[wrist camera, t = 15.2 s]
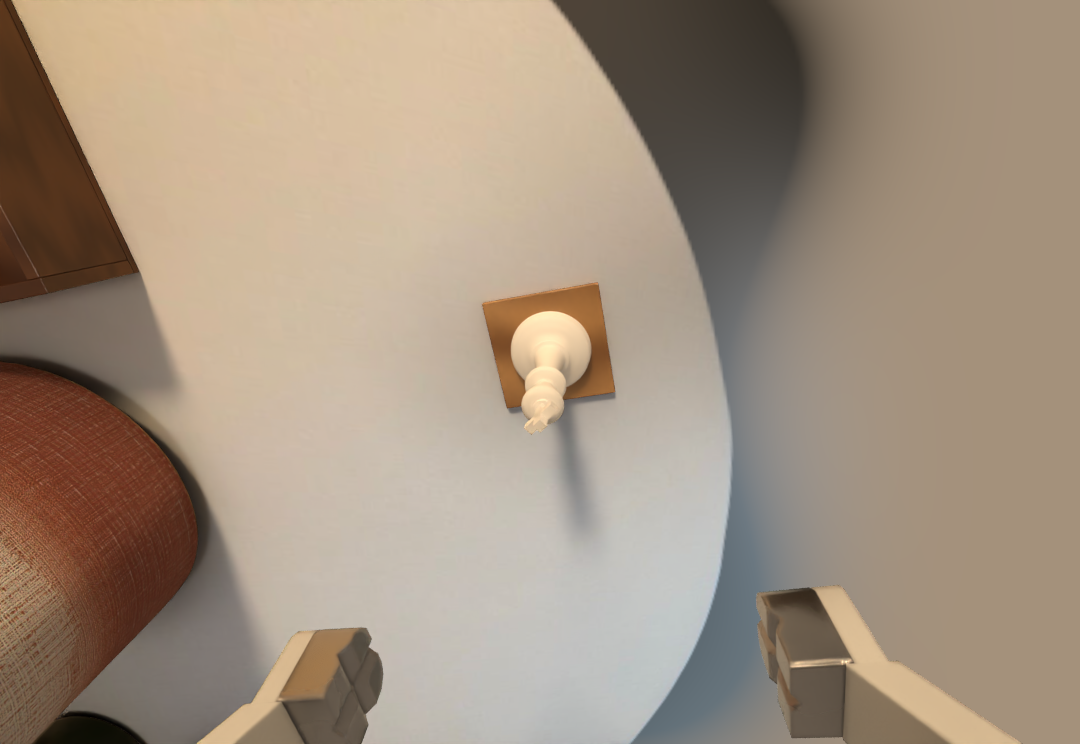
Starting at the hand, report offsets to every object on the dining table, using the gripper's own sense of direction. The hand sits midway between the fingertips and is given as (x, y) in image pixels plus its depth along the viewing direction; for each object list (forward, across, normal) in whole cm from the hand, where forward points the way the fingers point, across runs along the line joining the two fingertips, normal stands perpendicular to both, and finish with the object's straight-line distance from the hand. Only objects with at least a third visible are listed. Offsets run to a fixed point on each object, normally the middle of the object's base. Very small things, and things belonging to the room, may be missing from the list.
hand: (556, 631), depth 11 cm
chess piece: (+22, +2, +2) cm, 22 cm away
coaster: (+22, +2, +2) cm, 22 cm away
